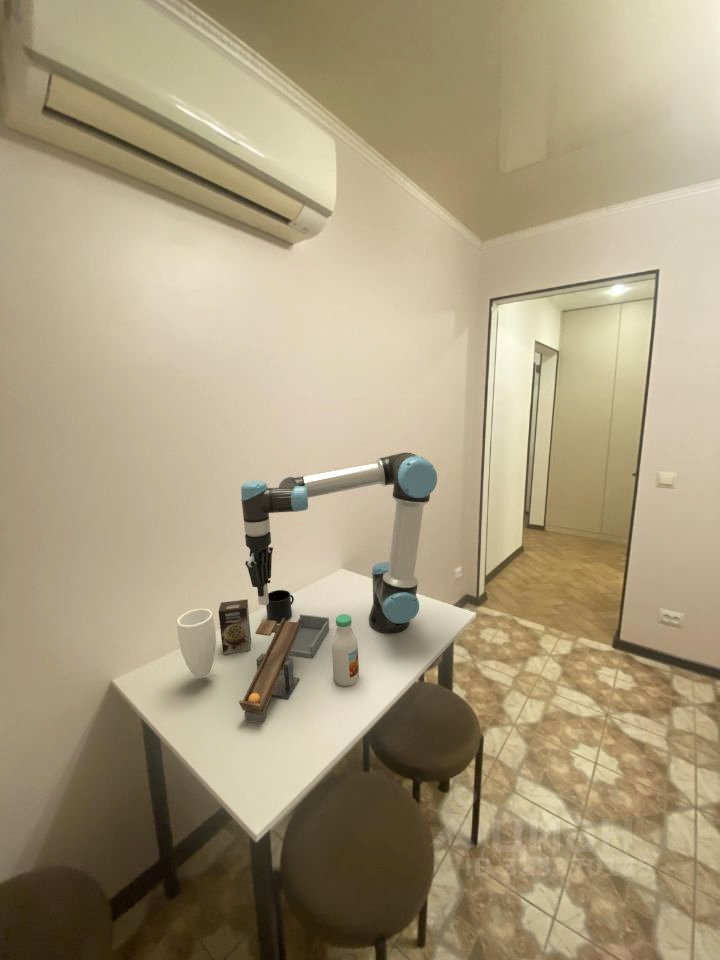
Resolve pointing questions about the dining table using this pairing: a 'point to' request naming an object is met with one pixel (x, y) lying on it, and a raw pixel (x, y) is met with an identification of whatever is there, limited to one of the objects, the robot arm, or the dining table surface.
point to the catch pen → (310, 635)
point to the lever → (271, 662)
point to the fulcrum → (283, 679)
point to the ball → (254, 698)
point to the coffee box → (235, 626)
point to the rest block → (255, 717)
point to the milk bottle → (345, 652)
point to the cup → (197, 640)
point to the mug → (279, 605)
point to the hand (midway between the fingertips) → (263, 603)
